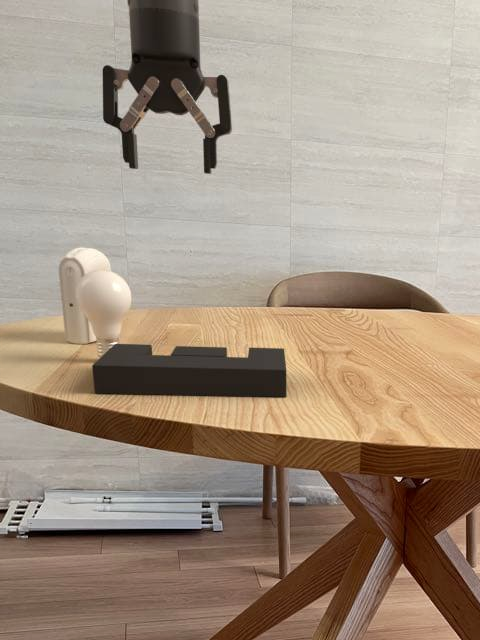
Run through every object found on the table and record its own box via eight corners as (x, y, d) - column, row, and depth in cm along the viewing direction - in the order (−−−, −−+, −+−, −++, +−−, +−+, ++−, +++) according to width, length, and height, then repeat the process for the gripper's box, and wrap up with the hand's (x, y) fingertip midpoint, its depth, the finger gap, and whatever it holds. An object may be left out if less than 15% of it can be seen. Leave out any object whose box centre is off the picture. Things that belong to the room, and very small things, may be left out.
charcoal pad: (94, 393, 87) (91, 365, 86) (116, 368, 99) (114, 343, 98) (286, 397, 90) (286, 369, 89) (284, 372, 103) (284, 348, 101)
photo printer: (91, 345, 114) (83, 250, 109) (61, 343, 114) (51, 248, 109) (120, 334, 123) (113, 247, 118) (91, 332, 123) (84, 245, 119)
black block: (171, 380, 95) (170, 354, 94) (177, 370, 100) (175, 345, 99) (225, 381, 96) (224, 355, 94) (227, 372, 101) (226, 347, 100)
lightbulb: (145, 360, 106) (140, 270, 101) (116, 367, 100) (109, 272, 96) (103, 355, 107) (95, 266, 103) (71, 362, 101) (62, 268, 97)
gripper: (231, 25, 96) (233, 176, 102) (104, 13, 94) (114, 168, 100) (227, 11, 89) (230, 174, 95) (90, -2, 87) (101, 165, 93)
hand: (170, 171), depth 98 cm, fingers open, 8 cm apart
